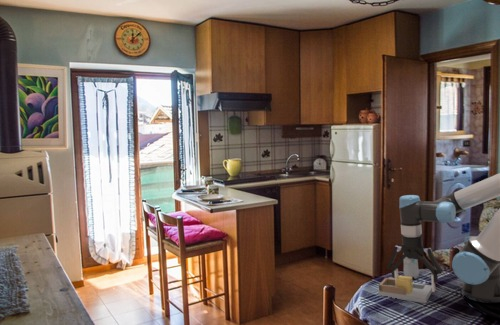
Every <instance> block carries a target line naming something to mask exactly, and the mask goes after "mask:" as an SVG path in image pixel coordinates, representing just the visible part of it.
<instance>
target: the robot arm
mask: <svg viewBox="0 0 500 325" xmlns="http://www.w3.org/2000/svg"><path fill="white" fill-rule="evenodd" d="M499 197H500V172H499V173H496V174H494V175H492V176H489V177H487V178H484V179H483V180H481V181H478V182H475V183H472V184H470V185H468V186H465V187H464V188H462V189H459V190H456V191H455V192H452V193H450V194H445V195H444V196H442V197H441V198H439V199H436V200H435V201H428V200H427V201H425V200H421V199H420V196H419V195H418V194H417V195H415V194H407V195H402V196H400V197H399V205H398V207H399V217H400V218H399V219H400V234H401V237H400V238H401V246H400V245H398V244H396V245H395V246H394V247H393V252H392V254H391V256H390V259H389V260H388V263H387V265H386V268H387V269H389V270H391V277H392V278H395V286H396V279H397V278H398V277H399V269H398V268H397V267H399V265H400V264H401V263H402V262H404V261H403V260H404V259H405V258H406V257H407V258H408V259H412V258H413V259H418V261H420V262H421V263H422V264H424V265H425V267H426V268H427V269H428V270H429V271H430V273H431V275H430V278H431V285H432V293H435V291H436V284H438V281H439V278H438V276H439V275H441V274H442V273H443V268H442V267H441V265H440V263H439V261H438V260H437V258H436V257H435V254H434V253H433V249H432V247H428V248H426V247H425V248H424V245H423V236H422V234H423V229H422V222H433V223H443V224H444V223H453V222H455V219H456V214H457V213H458V214H459V213H460V212H463V211H464V210H467V209H469V208H472V207H476V206H477V205H481V204H483V203H485V202H488V201H490V200H493V199H496V198H499ZM488 221H489V222H487V224H485V226H484V228H483V229H482V231H481V232H480V233H479V234H478V235H477V236H476V235H469V236H465V237H464V241H463V243H464V245H463V247H462V248H461V249H460V251H459V252H457V253H456V254H455V255H454V256H453V259H452V261H451V268H452V271H453V273H454V275H455V276H456V277H457V278H458V279H459V280H460V281H462V282H463V284H462V287H461V295H462V296H463V298H465V297H464V295H468V296H470V297H473V298H476V299H478V300H484V301H491V302H500V207H499V208H498V210H497V211H496V212H495V213H494V215H493V216H492V218H491V219H490V220H488ZM399 252H402V256H400V258H399V259H398V260H397V261H396V262H395V264H393V263H394V261H395V259H396V257H397V255H398V253H399ZM424 252H425V254H426V255H428V257H429V259H430V261H431V262H432V263H431V262H430V261H429V260H428V259H427V258H426V257H425V255H424ZM403 253H404V255H403ZM396 287H397V286H396Z"/></svg>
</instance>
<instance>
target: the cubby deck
mask: <svg viewBox="0 0 500 325" xmlns="http://www.w3.org/2000/svg"><path fill="white" fill-rule="evenodd" d="M432 293H433V292H432V284H431V285H430V284H424V283H417V282H413V290H412V291H411V293H410V294H408V293H406V291H405V288H403V287H396V286H395V279H390V278H389V277H384V278H383V280H382V281H381V282H380V283H379V284H378V290H377V294H378V295H382V296H381V297H383V296H388V297H387V298H389V297H392V298H391V299H395V298H397V299H396V300H403V301H410V302H415V303H422V304H427V302H428V301H429V299H430V297H431V295H432ZM378 295H377V296H378Z"/></svg>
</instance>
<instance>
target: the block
mask: <svg viewBox="0 0 500 325" xmlns="http://www.w3.org/2000/svg"><path fill="white" fill-rule="evenodd" d="M398 276H399V277H398V278H397V279H396V286H397V287H403V288H405V291H406V293H408V294H410V293H411V291H412V290H413V283H414V282H413V277H407V276H405V275H399V274H398Z"/></svg>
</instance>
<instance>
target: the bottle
mask: <svg viewBox="0 0 500 325" xmlns="http://www.w3.org/2000/svg"><path fill="white" fill-rule="evenodd" d="M403 255H404V253H403V252H402V256H403ZM418 261H419V258H418V259H413V258H412V259H408V258H407V257H406V258H405V259H404V260H403V261H402V262H403V276H407V277H412V278H413V280H416V279H418V278H419V277H420V273H419V272H420V270H419V262H418Z"/></svg>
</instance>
